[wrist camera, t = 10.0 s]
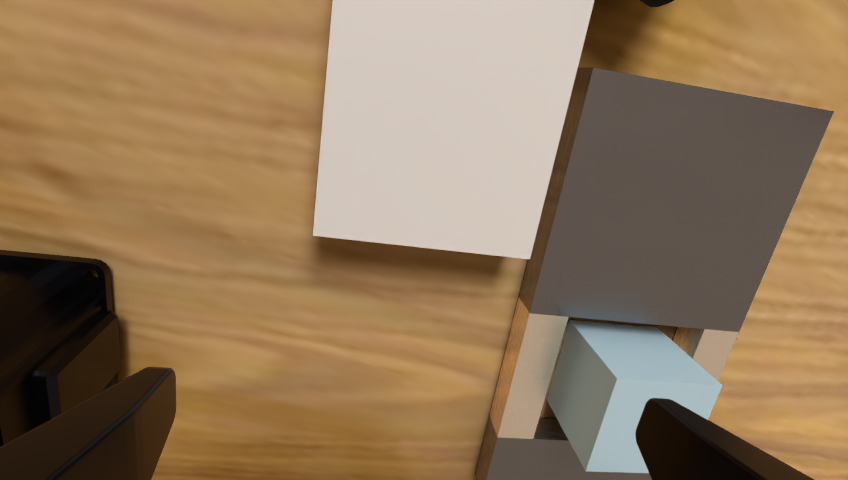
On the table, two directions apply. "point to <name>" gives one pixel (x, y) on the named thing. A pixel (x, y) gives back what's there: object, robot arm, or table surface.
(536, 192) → the stand
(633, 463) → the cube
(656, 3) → the pipe connector
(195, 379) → the table surface
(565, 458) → the plate
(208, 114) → the table surface
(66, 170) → the table surface
